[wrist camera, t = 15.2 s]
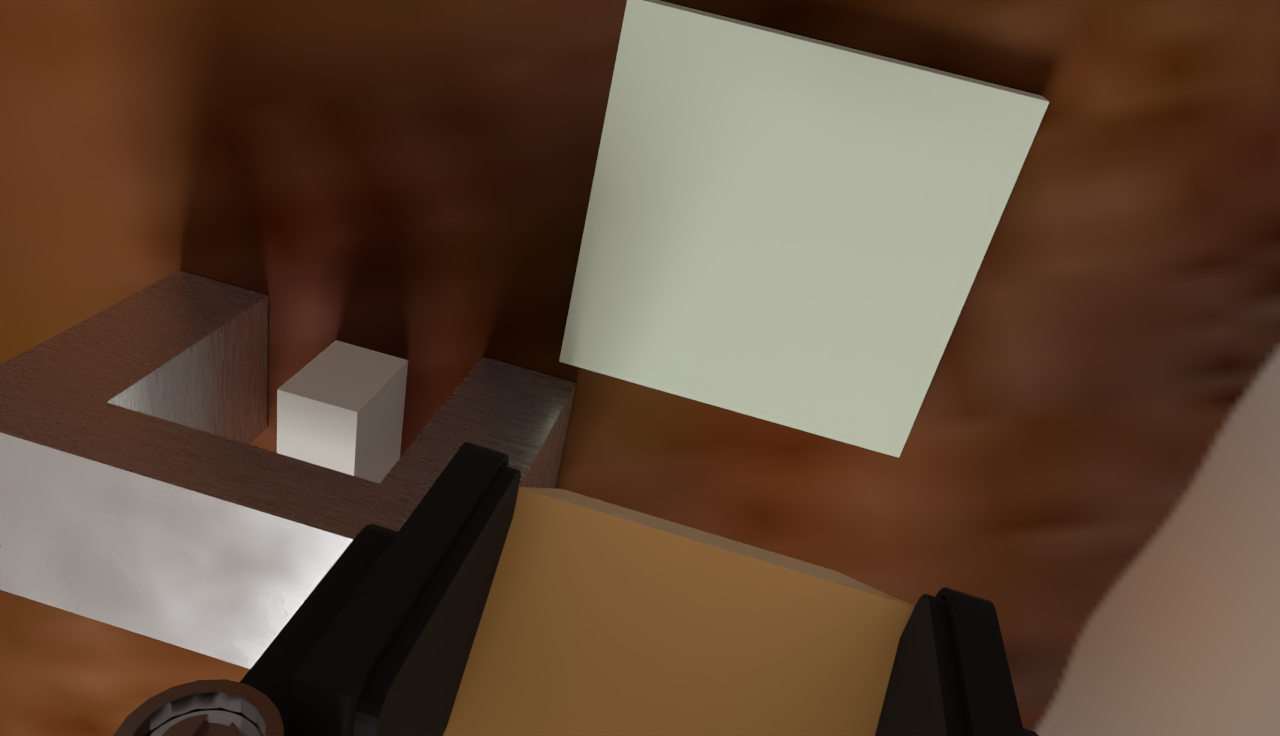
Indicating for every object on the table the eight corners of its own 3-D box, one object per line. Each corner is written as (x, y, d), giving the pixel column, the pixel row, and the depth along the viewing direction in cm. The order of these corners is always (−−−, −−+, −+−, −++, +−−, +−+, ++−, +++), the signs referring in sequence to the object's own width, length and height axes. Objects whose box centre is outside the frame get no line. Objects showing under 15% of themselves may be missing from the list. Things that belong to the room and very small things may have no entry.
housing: (178, 270, 28) (-81, 407, 20) (576, 383, 27) (469, 575, 19) (184, 404, 30) (-46, 575, 22) (550, 512, 29) (445, 731, 21)
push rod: (340, 336, 28) (277, 389, 25) (411, 357, 28) (357, 412, 25) (325, 669, 35) (275, 743, 32) (382, 687, 35) (337, 762, 32)
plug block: (514, 486, 11) (384, 903, 10) (913, 606, 11) (803, 1046, 10) (562, 489, 16) (476, 771, 15) (836, 570, 16) (759, 863, 15)
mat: (634, -7, 22) (627, -4, 21) (1041, 95, 21) (1049, 102, 20) (566, 349, 26) (559, 361, 26) (896, 442, 26) (899, 457, 25)
